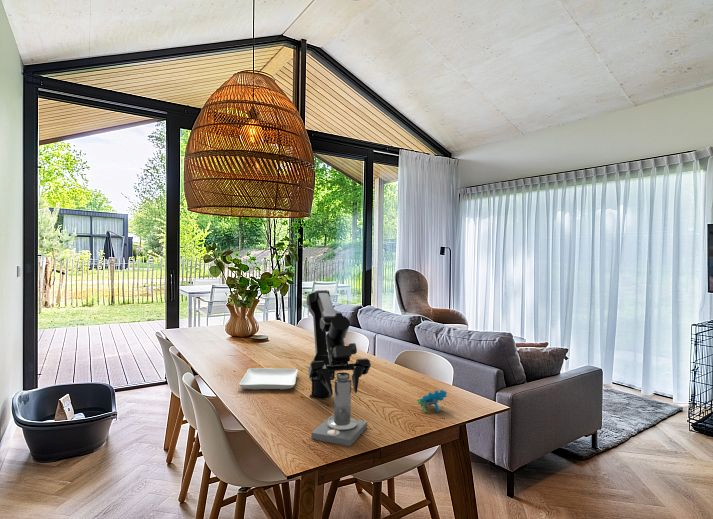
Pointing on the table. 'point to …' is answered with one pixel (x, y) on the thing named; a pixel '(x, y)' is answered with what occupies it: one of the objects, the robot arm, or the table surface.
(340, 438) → the scale
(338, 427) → the scale pan
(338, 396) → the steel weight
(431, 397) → the turquoise toy figurine
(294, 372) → the salad plate
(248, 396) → the table surface
